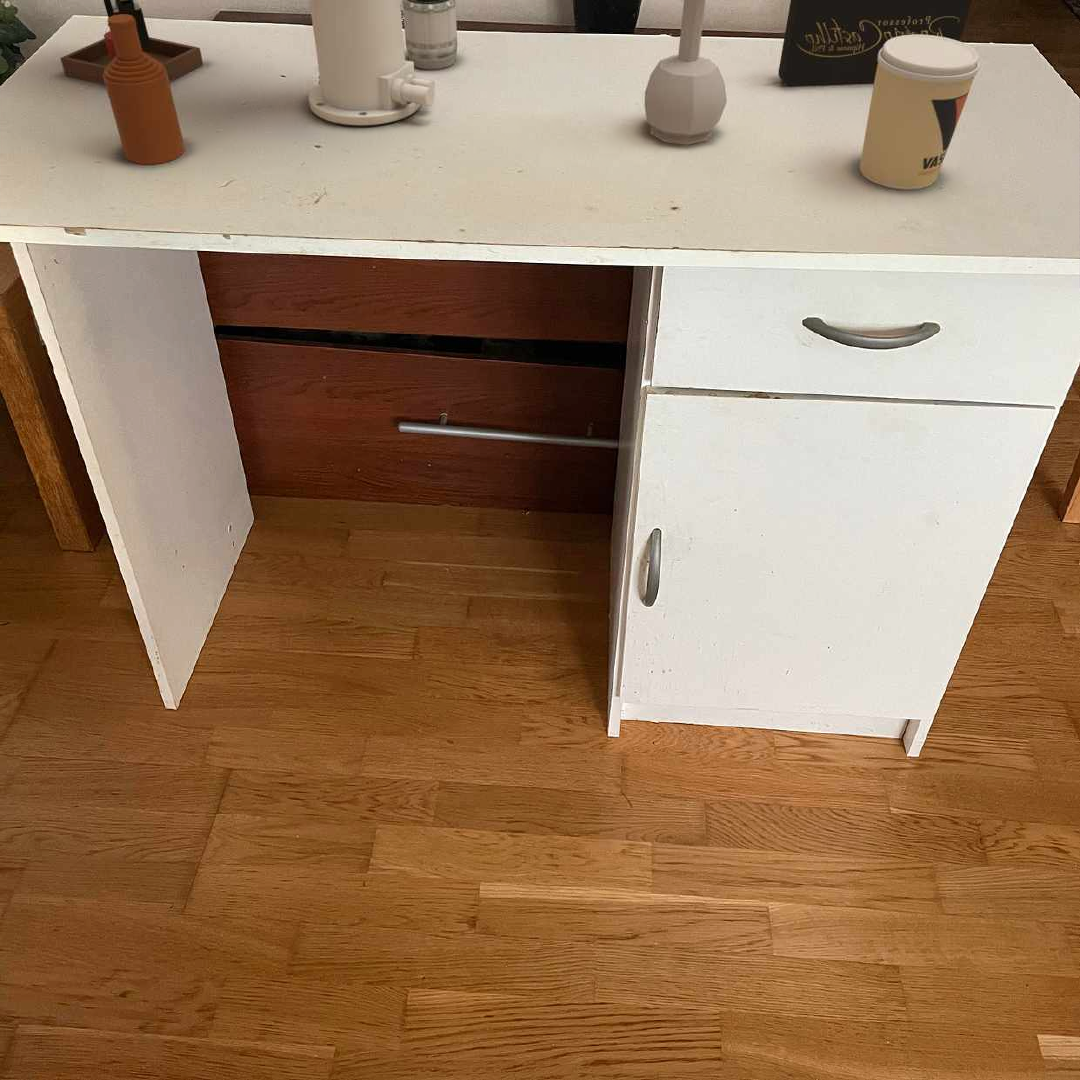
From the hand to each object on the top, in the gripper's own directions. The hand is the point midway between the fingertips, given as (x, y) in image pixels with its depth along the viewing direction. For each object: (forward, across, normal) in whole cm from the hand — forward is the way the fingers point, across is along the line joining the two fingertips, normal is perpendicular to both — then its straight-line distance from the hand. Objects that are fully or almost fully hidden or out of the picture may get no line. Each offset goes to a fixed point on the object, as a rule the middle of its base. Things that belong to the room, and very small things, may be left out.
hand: (130, 34), depth 118 cm
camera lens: (+5, +10, +33) cm, 35 cm away
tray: (+4, 0, 0) cm, 4 cm away
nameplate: (+6, +36, +79) cm, 87 cm away
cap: (+4, 0, -1) cm, 4 cm away
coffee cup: (+6, +58, +67) cm, 88 cm away
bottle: (+4, +23, -2) cm, 24 cm away
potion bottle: (+6, +40, +51) cm, 65 cm away
